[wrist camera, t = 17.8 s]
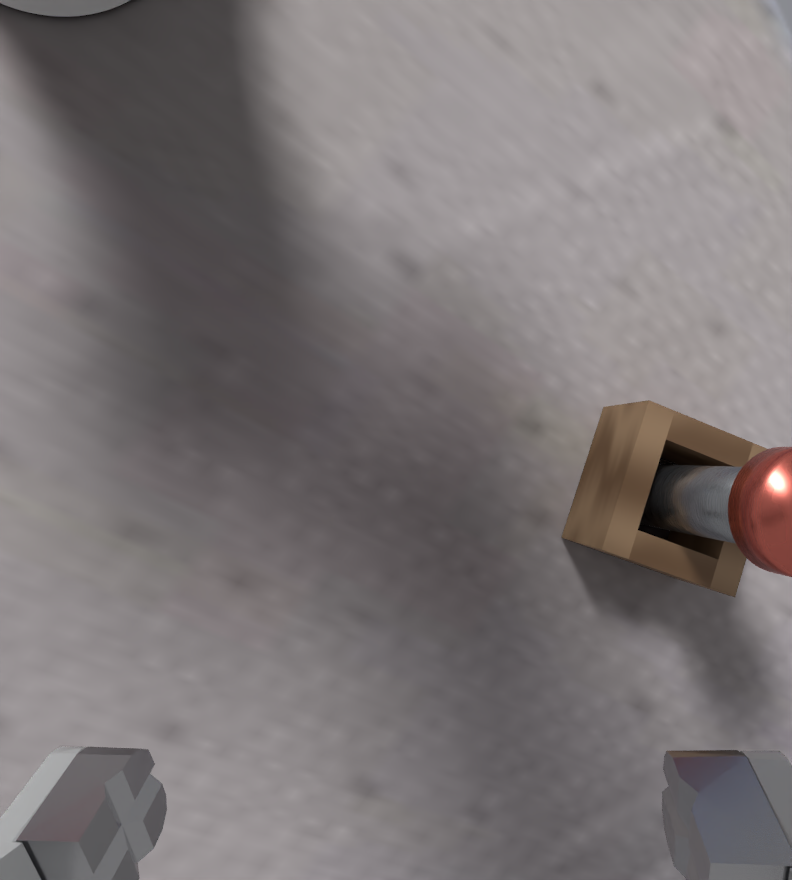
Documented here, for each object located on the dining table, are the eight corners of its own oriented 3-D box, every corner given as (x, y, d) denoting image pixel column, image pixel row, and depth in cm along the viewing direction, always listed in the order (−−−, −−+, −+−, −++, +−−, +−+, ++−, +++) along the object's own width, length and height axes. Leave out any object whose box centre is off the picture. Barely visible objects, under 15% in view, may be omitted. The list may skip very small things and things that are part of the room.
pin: (616, 436, 40) (783, 427, 26) (693, 466, 41) (891, 472, 27) (588, 522, 39) (744, 558, 26) (666, 551, 40) (856, 599, 27)
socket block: (603, 407, 39) (648, 400, 35) (718, 453, 41) (777, 452, 36) (561, 537, 39) (601, 549, 34) (679, 579, 40) (734, 597, 35)
